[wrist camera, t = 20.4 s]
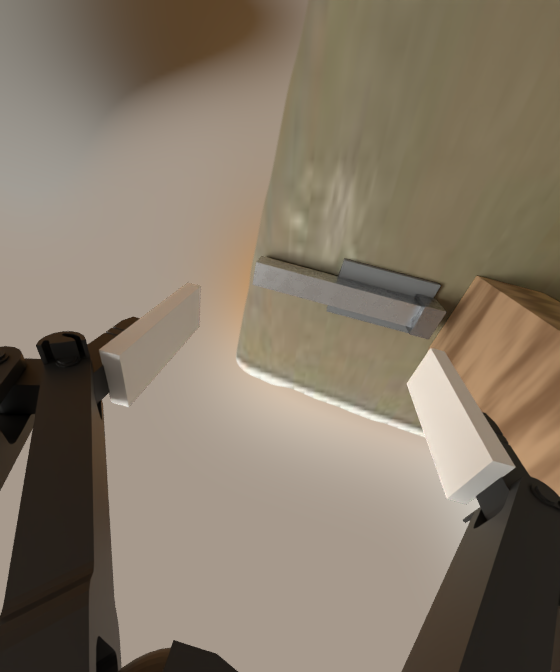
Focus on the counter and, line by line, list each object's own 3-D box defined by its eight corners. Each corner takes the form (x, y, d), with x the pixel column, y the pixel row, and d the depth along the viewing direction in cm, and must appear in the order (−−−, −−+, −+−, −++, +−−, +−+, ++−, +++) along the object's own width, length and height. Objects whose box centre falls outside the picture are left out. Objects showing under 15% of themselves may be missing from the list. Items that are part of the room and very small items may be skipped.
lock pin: (257, 280, 44) (250, 290, 40) (262, 252, 41) (255, 260, 37) (419, 324, 43) (428, 339, 39) (435, 298, 41) (446, 312, 36)
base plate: (326, 308, 45) (326, 311, 45) (344, 258, 41) (344, 260, 40) (410, 331, 45) (411, 334, 44) (438, 283, 40) (440, 285, 39)
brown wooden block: (428, 349, 46) (546, 555, 21) (476, 275, 39) (752, 460, 14) (483, 364, 46) (668, 590, 21) (542, 292, 39) (947, 513, 13)
